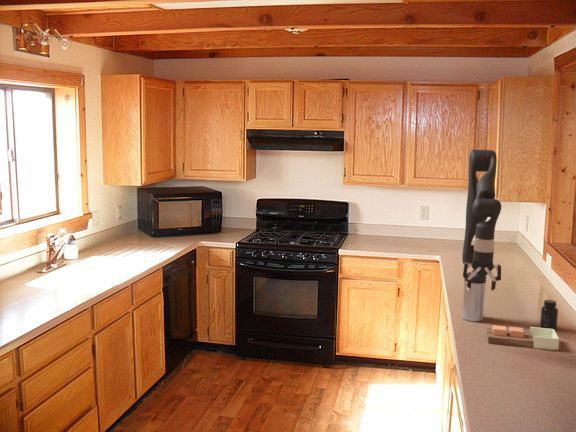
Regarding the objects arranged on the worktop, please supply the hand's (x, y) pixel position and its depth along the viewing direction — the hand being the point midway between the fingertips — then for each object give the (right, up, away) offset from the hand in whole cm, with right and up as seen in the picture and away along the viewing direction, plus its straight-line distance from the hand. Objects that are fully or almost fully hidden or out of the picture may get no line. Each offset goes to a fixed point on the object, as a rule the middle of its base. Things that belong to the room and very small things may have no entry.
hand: (480, 289), depth 245 cm
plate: (+13, -21, +5) cm, 25 cm away
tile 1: (+9, -19, +5) cm, 21 cm away
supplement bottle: (+35, -19, +21) cm, 45 cm away
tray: (+26, -22, +2) cm, 34 cm away
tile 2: (+15, -19, +4) cm, 25 cm away
